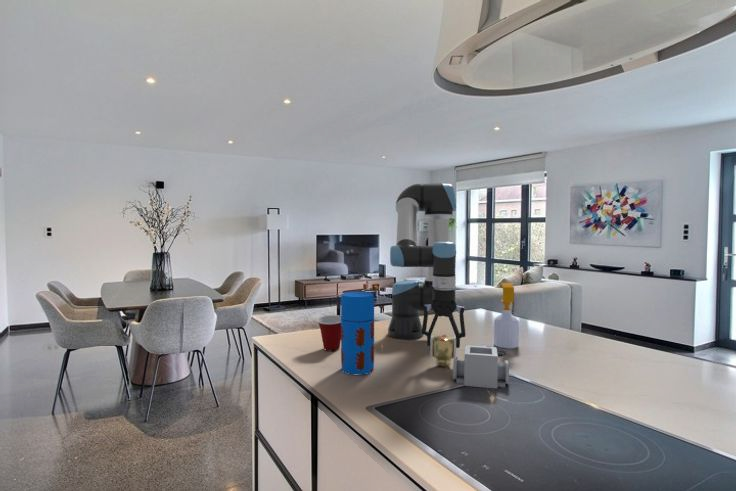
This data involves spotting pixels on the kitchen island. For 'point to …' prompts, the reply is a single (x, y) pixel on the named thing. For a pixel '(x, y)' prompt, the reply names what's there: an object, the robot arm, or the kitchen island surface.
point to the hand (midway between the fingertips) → (443, 356)
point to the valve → (443, 350)
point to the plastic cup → (330, 331)
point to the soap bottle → (506, 322)
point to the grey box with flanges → (481, 368)
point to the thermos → (357, 332)
